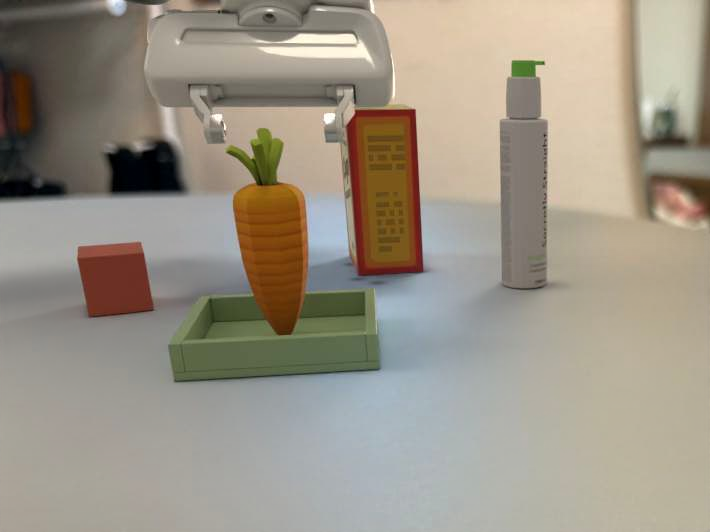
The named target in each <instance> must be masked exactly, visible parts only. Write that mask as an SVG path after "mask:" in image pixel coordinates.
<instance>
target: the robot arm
mask: <svg viewBox="0 0 710 532" xmlns="http://www.w3.org/2000/svg"><path fill="white" fill-rule="evenodd" d="M123 1H124V2H128V3H132V4H138V5H146V6H160V5H164V4H166V3H168V2H170V0H123ZM219 2H220V3H219V4H220V5H219V7H220V9H217V10H216V9H195V10H182V9H167V10H166V11H165V13H164V14H159V15H156V16H155V17H151V18H149V20H148V22H147V27H146V43H147V48H146V52H145V57H144V63H143V74H144V78H145V82H146V84H147V87H148V89H149V92H150V94H151V96H152V98H153V99H154V100H155V101H156V102H157V103H158V104H159V105H161V107H164V108H192V109H193V111H194V114H195V116H196V117H197V119H199V121H200V122H201V123H202V125H203V126H202V127H203V128H202V129H203V135H204V138H205V141H206V144H207V145H218V144H220V145H221V144H222V145H223V144H227V135H228V134H227V130H228V129H227V126H226V123H225V118H224V116H223V113H214V108H335V110H334V111H333V113H323V131H324V132H323V133H324V140H325V143H326V144H337V143H339V144H340V143H343V128H345V126H346V125H347V124H348V122H349V121H350V120H351V118H352V117H353V116H354V114H355V107H385V106H387V105H388V104H391V102H392V101H393V100H394V99H395V95H396V85H395V83H396V82H395V81H396V80H395V70H394V69H395V68H394V62H393V54H392V49H391V45H390V42H389V37H388V35H387V34H388V33H387V31H386V28H385V25H384V24H383V22H382V20H381V19H380V18H379V17H378V15H376V13H375V5H374V0H219Z"/></svg>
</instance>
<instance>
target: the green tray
mask: <svg viewBox="0 0 710 532" xmlns="http://www.w3.org/2000/svg"><path fill="white" fill-rule="evenodd" d="M377 316H378V315H377V302H376V289H375V288H360V289H359V288H358V289H357V288H354V289H331V290H309V291H308V290H307V291H305V297H304V301H303V305H302V308H301V312H300V315H299V318H298V320H297V323H296V325H295V328H294V330H293V332H292V333H291V335H277V334H276V333H275V331H274V330H273V328H272V327H271V326H270V324H269V323H268V321H267V320H266V319H265V317H264V315H263V313H262V311H261V310H260V308H259V306H258V304H257V302H256V300H255V298H254V295H253V293H239V294H213V295H200V296H199V298H198V299H197V300H196V302H195V304H194V305H193V307H192V308H191V310H190V311H189V312H188V314H187V316H186V317H185V318H184V320H183V322H182V323H181V325H180V326H179V327H178V329H177V330H176V331H175V333H174V335H173V337H171V339H170V341H169V342H168V343H167V348H168V353H169V360H170V365H171V371H172V377H173V381H174V382H181V381H182V382H183V381H184V382H185V381H197V380H198V381H199V380H216V379H235V378H251V377H268V376H282V375H299V374H302V375H303V374H314V373H315V374H316V373H317V374H319V373H334V372H350V371H353V372H354V371H367V370H369V371H370V370H380V351H379V334H378V333H379V332H378V317H377Z"/></svg>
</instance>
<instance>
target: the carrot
mask: <svg viewBox="0 0 710 532" xmlns="http://www.w3.org/2000/svg"><path fill="white" fill-rule="evenodd" d="M256 137H257V138H253V139H251V140H249V142H250V146H251V150H252V153H253V156H252V157H250V156H249V155H248V154H247V153H246V151H245V150H243V149H241V148H240V147H237V146H235V145H232V144H230V145H228V146H226V147H227V148H226V149H225V153H226V154H228V155H230V156H231V157H233V158H235V159H237V160H238V161H239V162H240V163H241V164H243V166H244V167H245V168H246V169H247V170H248V171H249V173H250V174H251V176H252V178H253V179H254V182H253V183H249V184H246V185H245V186H243V187H241V188H239V189H237V191H236V192H235V193H234V195H233V198H232V210H233V217H234V223H235V229H236V237H237V240H238V246H239V252H240V257H241V260H242V264H243V267H244V271H245V274H246V278H247V281H248V283H249V286H250V289H251V292H252V294H253V295H254V298H255V300H256V302H257V304H258V306H259V308H260V310H261V311H262V313H263V315H264V317H265V319H266V320H267V321H268V323H269V324H270V326H271V327H272V328H273V330H274V331H275V333H276V334H277V335H291V333H292V332H293V330H294V328H295V325H296V323H297V320H298V318H299V315H300V312H301V308H302V305H303V301H304V297H305V292H306V289H307V281H308V271H309V270H308V269H309V254H310V253H309V234H308V233H309V231H308V219H307V204H306V198H305V195H304V192H303V191H302V190H301V189H300V188H298V186H296V185H294V184H291V183H286V182H281V181H278V169H279V165H280V162H281V159H282V155H283V152H284V151H283V150H284V144H285V142H284V141H282V139H281V138H279V137H273V135H272V132H271V130H270V129H268V128H266V127H259V128H258V129H256Z"/></svg>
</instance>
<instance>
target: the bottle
mask: <svg viewBox="0 0 710 532" xmlns="http://www.w3.org/2000/svg"><path fill="white" fill-rule="evenodd" d="M545 65H546V61H545V60H532V59H527V60H526V59H513V60H511V68H510V69H511V71H510V72H511V73H510V76H507V77H506V90H505V117H506V118H501V119H499V172H500V174H499V175H500V177H499V178H500V179H499V180H500V182H499V183H500V246H501V247H500V249H501V253H500V255H501V257H500V258H501V284H502V285H503V286H505V287H507V288H513V289H520V290H521V289H522V290H523V289H526V290H527V289H537V288H541V287H544V286H546V284H547V282H548V174H549V173H548V172H549V171H548V169H549V168H548V163H549V162H548V161H549V160H548V158H549V156H548V155H549V153H548V152H549V145H548V143H549V121H548V119H546V118H542V86H541V77H539V76H537V72H536V71H537V69H536V66H545Z"/></svg>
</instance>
